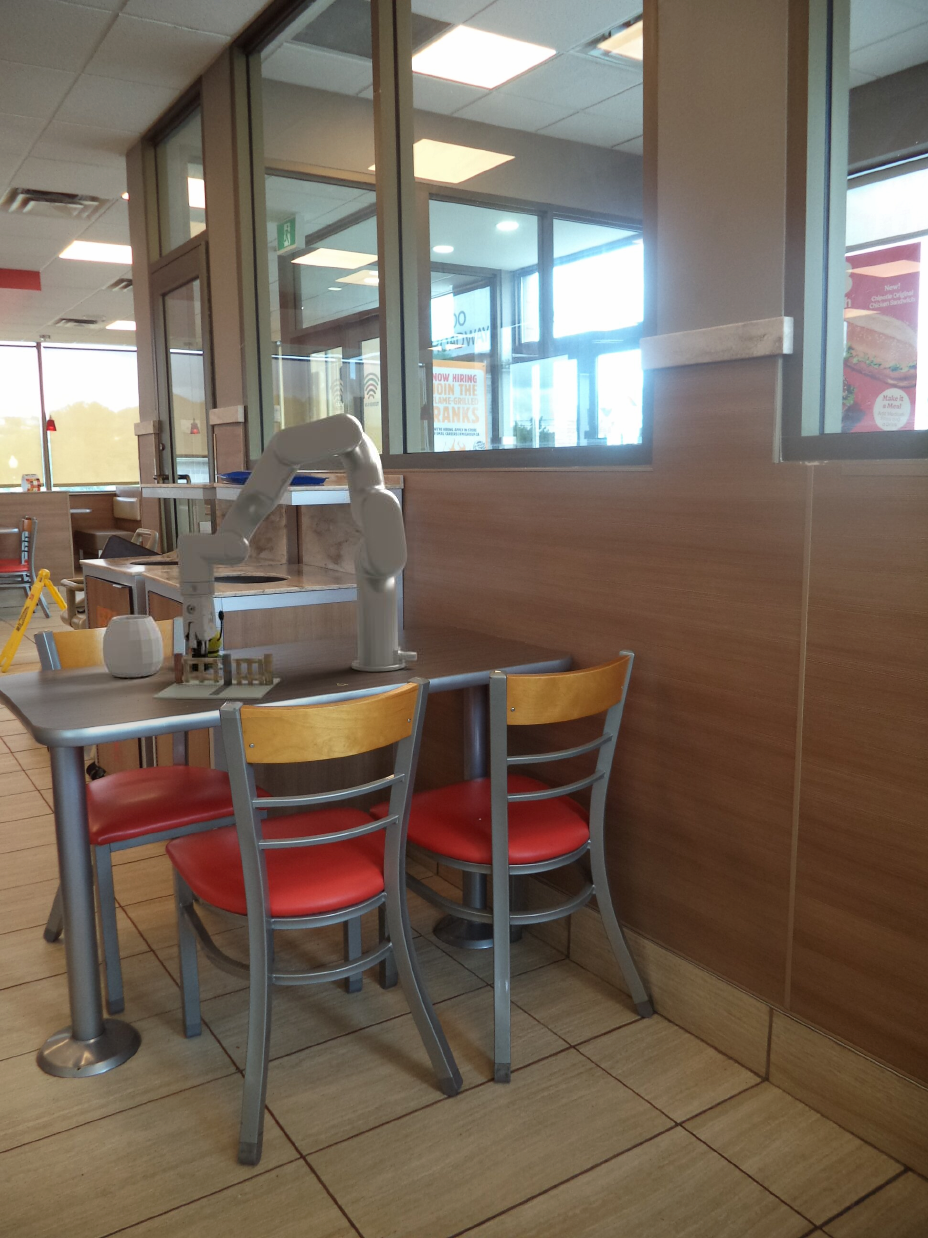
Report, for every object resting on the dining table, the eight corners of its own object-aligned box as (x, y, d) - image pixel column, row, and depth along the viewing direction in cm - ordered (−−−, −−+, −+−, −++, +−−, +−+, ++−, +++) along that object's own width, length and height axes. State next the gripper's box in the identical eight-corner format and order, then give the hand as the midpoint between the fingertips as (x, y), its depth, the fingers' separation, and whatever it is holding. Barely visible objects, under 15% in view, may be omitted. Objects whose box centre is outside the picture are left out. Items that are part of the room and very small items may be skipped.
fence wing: (223, 682, 210) (221, 653, 209) (220, 683, 208) (219, 654, 207) (176, 682, 210) (175, 653, 209) (174, 683, 209) (172, 654, 208)
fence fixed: (274, 685, 210) (273, 653, 209) (272, 687, 208) (271, 655, 207) (225, 685, 210) (223, 653, 209) (222, 687, 208) (221, 655, 207)
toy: (213, 610, 238) (230, 609, 225) (217, 667, 238) (235, 669, 225) (187, 612, 235) (203, 611, 222) (192, 669, 235) (208, 671, 222)
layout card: (280, 680, 215) (280, 678, 215) (259, 698, 196) (259, 696, 196) (182, 680, 216) (182, 678, 216) (152, 698, 197) (152, 696, 197)
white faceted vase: (130, 683, 213) (126, 622, 211) (91, 677, 220) (88, 618, 218) (176, 673, 224) (174, 615, 222) (138, 667, 231) (135, 612, 229)
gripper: (203, 592, 206) (207, 677, 208) (223, 585, 221) (226, 664, 223) (168, 592, 206) (172, 677, 209) (190, 585, 221) (194, 664, 223)
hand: (200, 670), depth 216 cm, fingers closed
